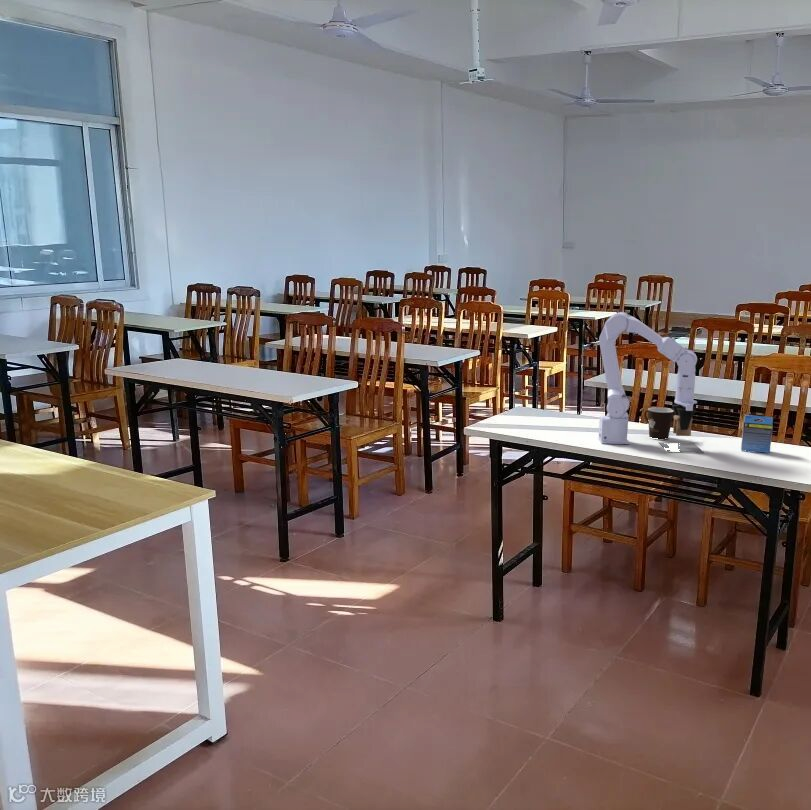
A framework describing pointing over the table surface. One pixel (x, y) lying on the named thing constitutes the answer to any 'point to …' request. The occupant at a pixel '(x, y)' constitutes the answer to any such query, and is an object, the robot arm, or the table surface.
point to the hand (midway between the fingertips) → (682, 427)
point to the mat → (684, 447)
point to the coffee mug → (659, 422)
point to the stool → (678, 430)
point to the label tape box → (757, 434)
